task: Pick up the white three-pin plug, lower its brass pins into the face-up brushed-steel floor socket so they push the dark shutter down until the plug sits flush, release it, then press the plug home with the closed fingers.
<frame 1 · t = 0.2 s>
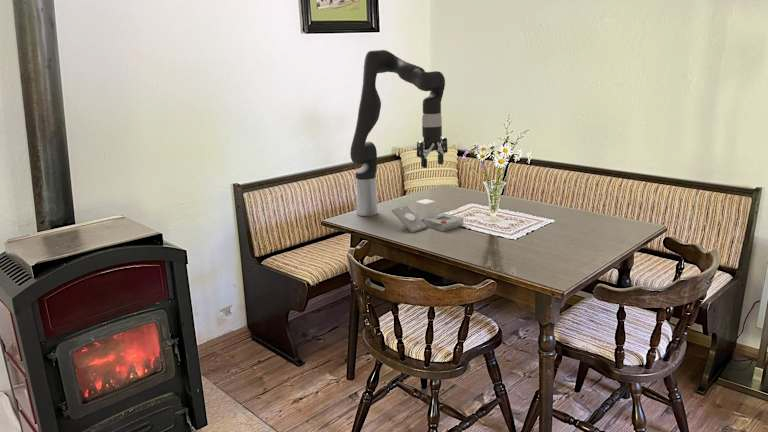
hand: (432, 165, 230), 29 cm above the table, tool pointing down, fingers open, 8 cm apart
shutter: (443, 220, 249), point 2 cm above the table, slide at 0.0 cm
light switch: (409, 227, 249), on the table
socket: (443, 225, 250), on the table
plug: (425, 220, 258), on the table
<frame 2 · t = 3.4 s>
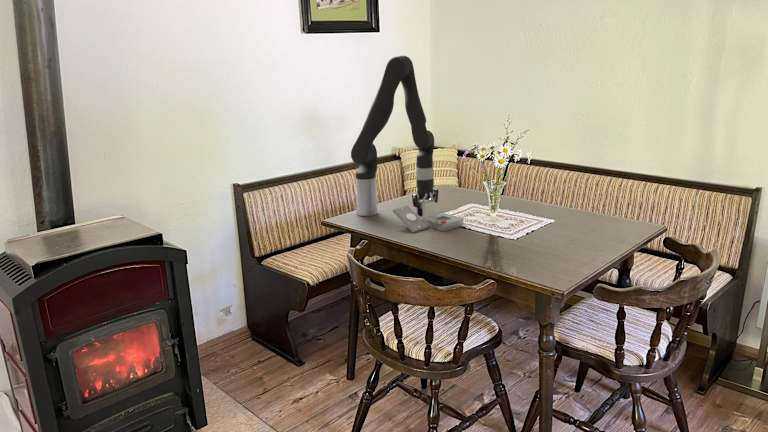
hand: (425, 214, 257), 3 cm above the table, tool pointing down, fingers closed on plug, 6 cm apart
plug: (425, 220, 258), on the table, touching gripper
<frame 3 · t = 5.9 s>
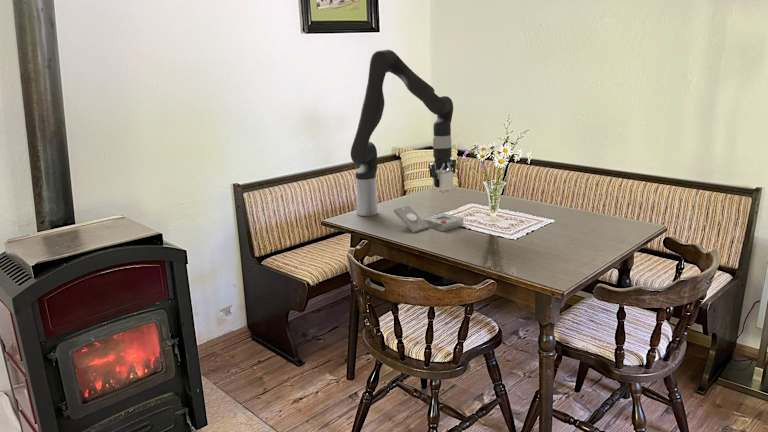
hand: (442, 185, 245), 17 cm above the table, tool pointing down, fingers closed on plug, 6 cm apart
plug: (443, 191, 246), point 15 cm above the table, touching gripper
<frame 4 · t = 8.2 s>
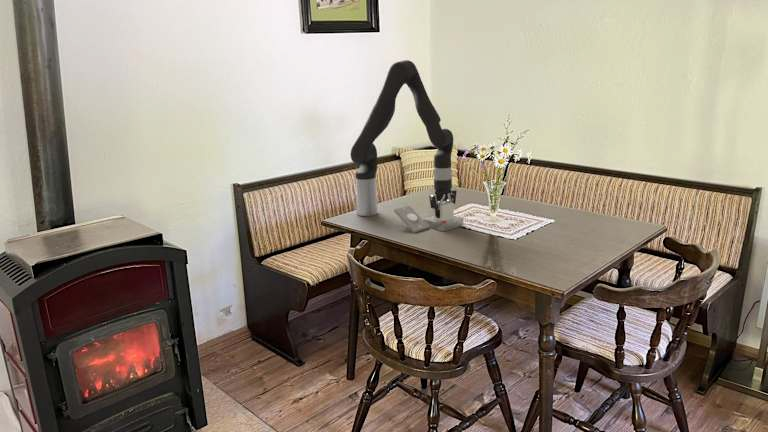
hand: (443, 216, 249), 4 cm above the table, tool pointing down, fingers closed on plug, 5 cm apart
shutter: (443, 222, 250), point 1 cm above the table, slide at 1.1 cm
plug: (443, 221, 249), point 1 cm above the table, touching gripper, socket
when the fingers open (4 cm above the table, at t = 8.6 s): plug stays where it is, resting on socket.
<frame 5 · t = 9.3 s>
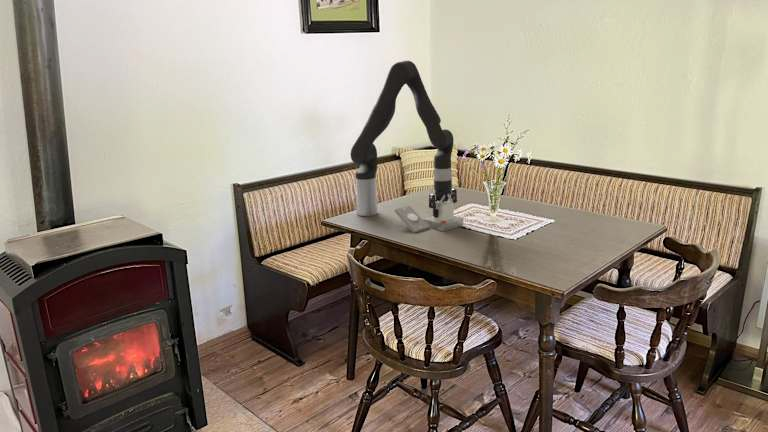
hand: (443, 215, 249), 4 cm above the table, tool pointing down, fingers open, 8 cm apart
plug: (443, 221, 249), point 1 cm above the table, touching socket
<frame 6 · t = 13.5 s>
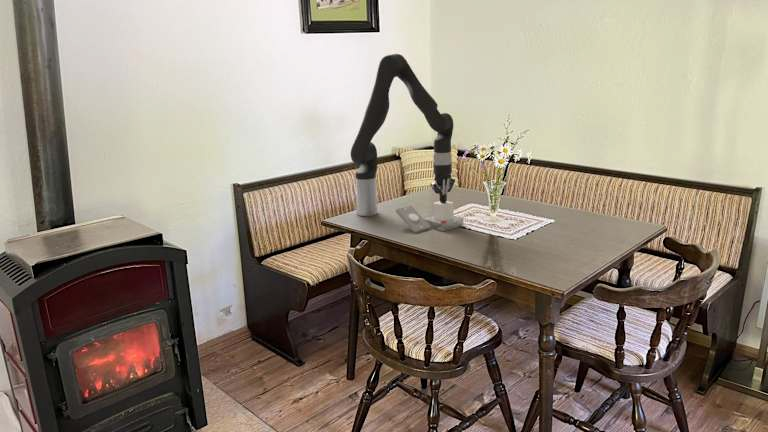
hand: (443, 202, 247), 10 cm above the table, tool pointing down, fingers closed
plug: (443, 221, 249), point 1 cm above the table, touching gripper, socket
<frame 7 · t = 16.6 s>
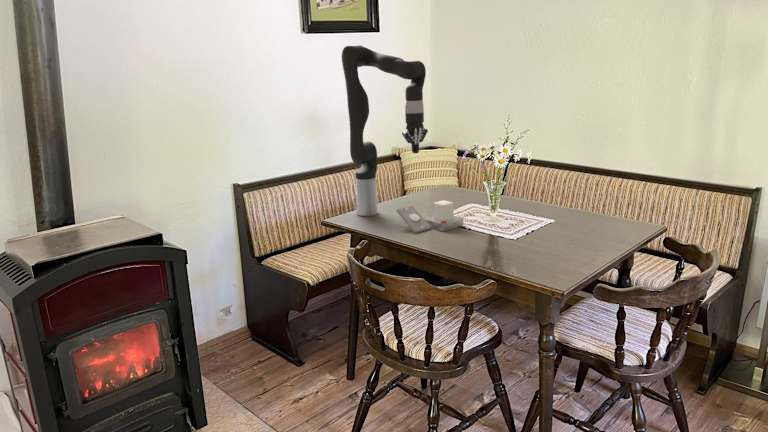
hand: (415, 152, 245), 31 cm above the table, tool pointing down, fingers closed
plug: (443, 221, 249), point 1 cm above the table, touching socket
at the end: plug 0.1 cm off-centre on the socket, point 1.5 cm above the socket's base; shutter slide at 1.1 cm; plug tilted 0° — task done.
